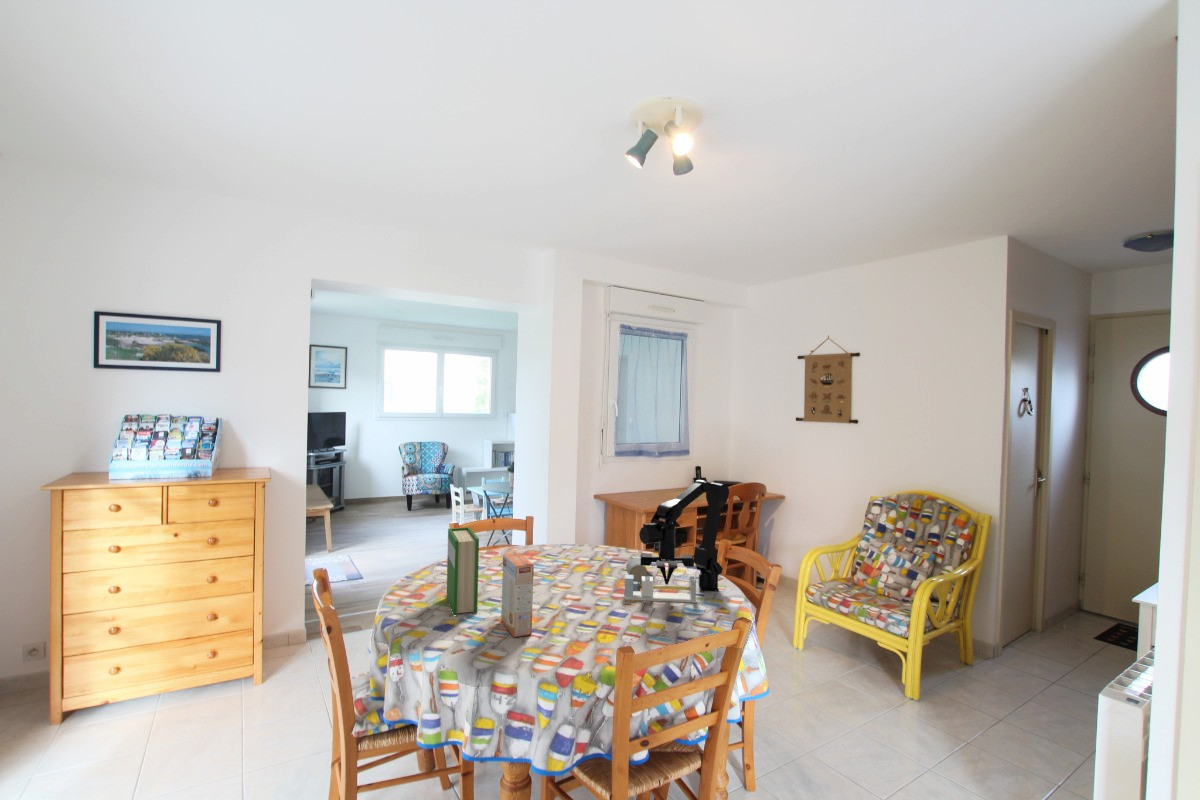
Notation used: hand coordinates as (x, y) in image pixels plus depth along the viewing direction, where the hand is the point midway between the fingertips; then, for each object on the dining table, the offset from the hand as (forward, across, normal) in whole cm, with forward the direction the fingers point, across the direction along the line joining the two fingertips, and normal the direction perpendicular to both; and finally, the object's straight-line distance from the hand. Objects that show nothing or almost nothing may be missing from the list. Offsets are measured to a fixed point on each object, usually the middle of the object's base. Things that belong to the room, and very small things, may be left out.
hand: (666, 584), depth 192 cm
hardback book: (+4, +69, +16) cm, 71 cm away
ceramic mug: (+5, +9, -19) cm, 22 cm away
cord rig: (+5, +2, 0) cm, 5 cm away
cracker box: (+4, +47, +32) cm, 57 cm away
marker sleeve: (+4, +7, 0) cm, 8 cm away
